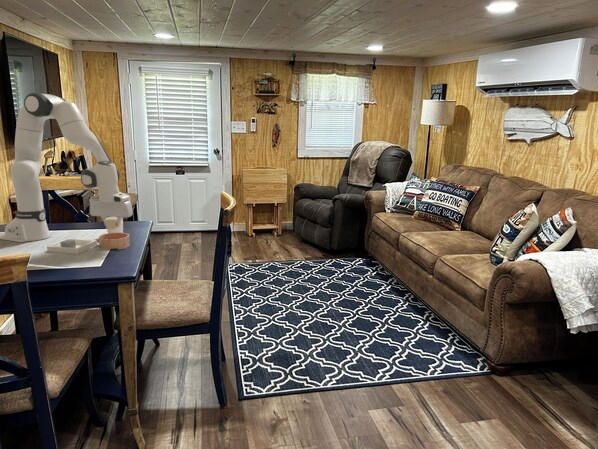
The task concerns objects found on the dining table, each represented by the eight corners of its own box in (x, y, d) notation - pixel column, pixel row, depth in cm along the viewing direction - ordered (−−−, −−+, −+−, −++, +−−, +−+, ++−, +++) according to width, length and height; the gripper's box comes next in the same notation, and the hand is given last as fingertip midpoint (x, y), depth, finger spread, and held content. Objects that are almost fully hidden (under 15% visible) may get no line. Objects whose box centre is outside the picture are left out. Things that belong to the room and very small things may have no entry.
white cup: (118, 240, 222) (116, 220, 220) (103, 239, 224) (102, 219, 221) (127, 236, 230) (125, 217, 227) (113, 235, 231) (111, 216, 229)
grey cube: (61, 250, 201) (60, 242, 200) (67, 248, 205) (66, 239, 204) (70, 251, 200) (69, 242, 199) (75, 248, 204) (75, 240, 203)
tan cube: (106, 228, 210) (105, 220, 209) (110, 226, 214) (110, 218, 213) (114, 228, 210) (113, 220, 209) (119, 226, 214) (118, 218, 212)
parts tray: (47, 252, 200) (47, 246, 200) (68, 244, 214) (68, 238, 213) (78, 255, 198) (77, 248, 197) (97, 246, 211) (96, 240, 210)
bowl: (94, 249, 207) (93, 238, 206) (110, 241, 220) (109, 231, 218) (119, 251, 205) (119, 240, 204) (134, 243, 217) (134, 233, 216)
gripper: (84, 197, 207) (88, 226, 210) (125, 198, 204) (128, 228, 207) (93, 194, 213) (96, 222, 216) (133, 196, 210) (135, 224, 213)
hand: (112, 225), depth 212 cm, fingers closed on tan cube, 4 cm apart
